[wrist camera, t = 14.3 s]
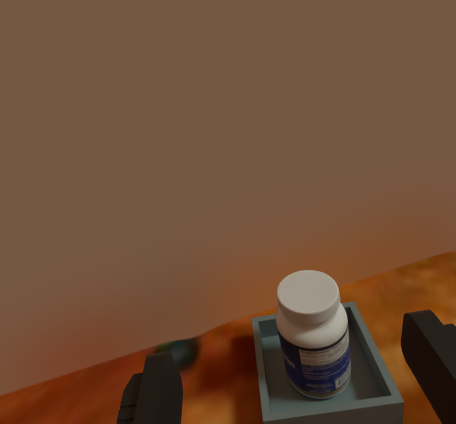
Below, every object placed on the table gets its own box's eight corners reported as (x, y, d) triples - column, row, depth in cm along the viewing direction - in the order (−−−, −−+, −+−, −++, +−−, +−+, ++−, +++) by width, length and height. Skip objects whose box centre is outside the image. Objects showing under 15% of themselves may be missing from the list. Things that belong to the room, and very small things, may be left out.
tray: (268, 443, 27) (263, 421, 25) (256, 338, 36) (251, 317, 34) (402, 425, 26) (404, 402, 24) (354, 322, 35) (353, 301, 34)
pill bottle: (281, 349, 33) (266, 271, 28) (339, 340, 33) (333, 259, 28) (292, 407, 28) (275, 323, 23) (361, 397, 28) (357, 310, 23)
